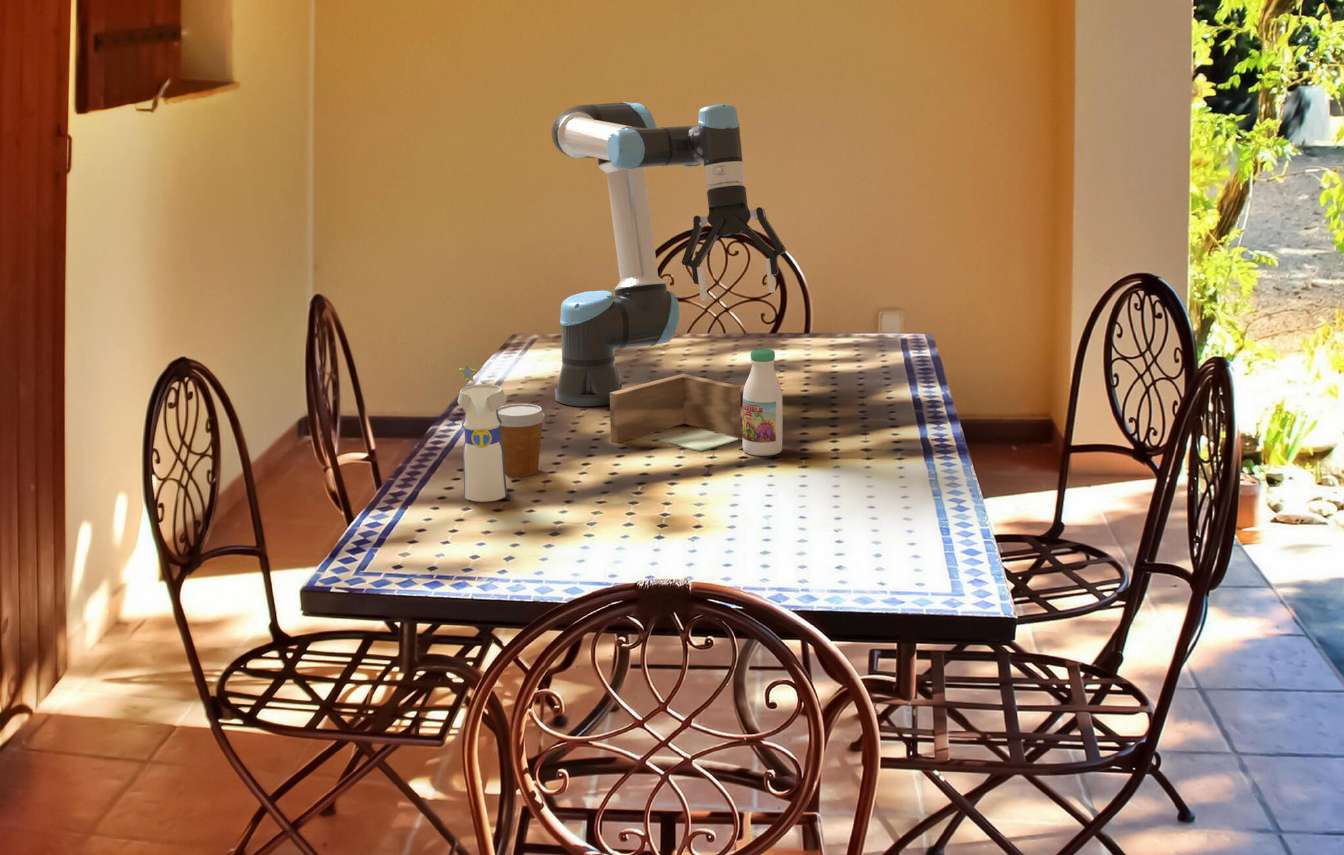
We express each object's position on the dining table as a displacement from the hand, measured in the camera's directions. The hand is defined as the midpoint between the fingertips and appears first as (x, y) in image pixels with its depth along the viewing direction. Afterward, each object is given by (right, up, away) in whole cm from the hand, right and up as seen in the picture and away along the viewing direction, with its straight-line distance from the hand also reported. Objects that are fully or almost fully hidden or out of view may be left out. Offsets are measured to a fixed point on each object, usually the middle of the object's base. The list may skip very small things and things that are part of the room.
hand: (737, 296), depth 279 cm
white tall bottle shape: (-46, -38, -23) cm, 63 cm away
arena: (-11, -28, +10) cm, 31 cm away
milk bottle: (+5, -30, +1) cm, 31 cm away
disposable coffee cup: (-41, -34, -10) cm, 54 cm away
